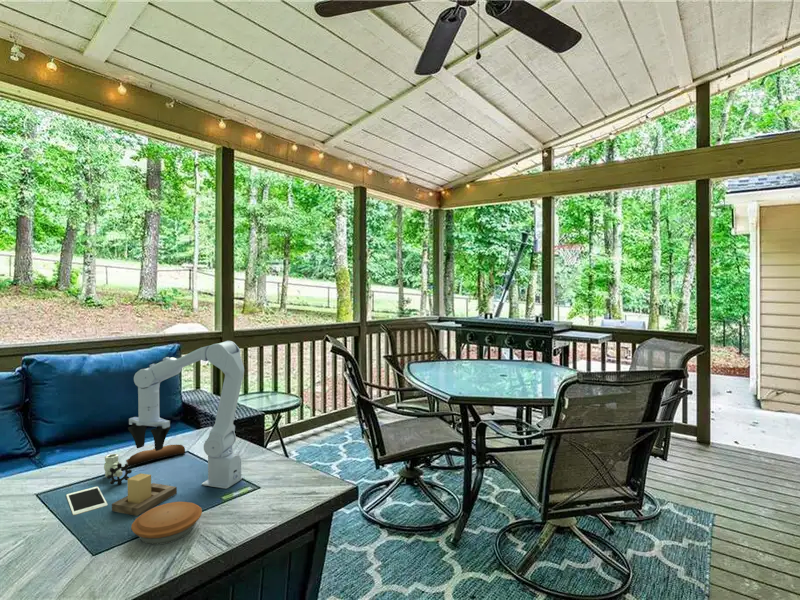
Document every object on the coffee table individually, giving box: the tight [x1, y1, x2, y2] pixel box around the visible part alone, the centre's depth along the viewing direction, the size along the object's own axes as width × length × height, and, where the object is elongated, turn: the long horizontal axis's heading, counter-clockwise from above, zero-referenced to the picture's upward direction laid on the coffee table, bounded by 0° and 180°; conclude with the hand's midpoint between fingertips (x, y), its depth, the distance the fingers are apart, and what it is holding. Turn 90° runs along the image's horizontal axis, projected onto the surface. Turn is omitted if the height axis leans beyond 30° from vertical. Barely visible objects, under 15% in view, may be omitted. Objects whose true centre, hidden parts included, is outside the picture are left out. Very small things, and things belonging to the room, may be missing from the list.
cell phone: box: [66, 486, 109, 516], centre depth 122 cm, size 8×16×1 cm, turn 44°
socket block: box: [111, 482, 178, 517], centre depth 121 cm, size 9×13×2 cm
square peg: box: [126, 472, 152, 504], centre depth 119 cm, size 4×4×8 cm
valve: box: [103, 453, 132, 486], centre depth 136 cm, size 7×7×12 cm
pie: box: [131, 501, 203, 546], centre depth 106 cm, size 15×16×5 cm
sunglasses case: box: [125, 444, 186, 468], centre depth 153 cm, size 18×7×7 cm
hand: (149, 448), depth 134 cm, fingers open, 7 cm apart
